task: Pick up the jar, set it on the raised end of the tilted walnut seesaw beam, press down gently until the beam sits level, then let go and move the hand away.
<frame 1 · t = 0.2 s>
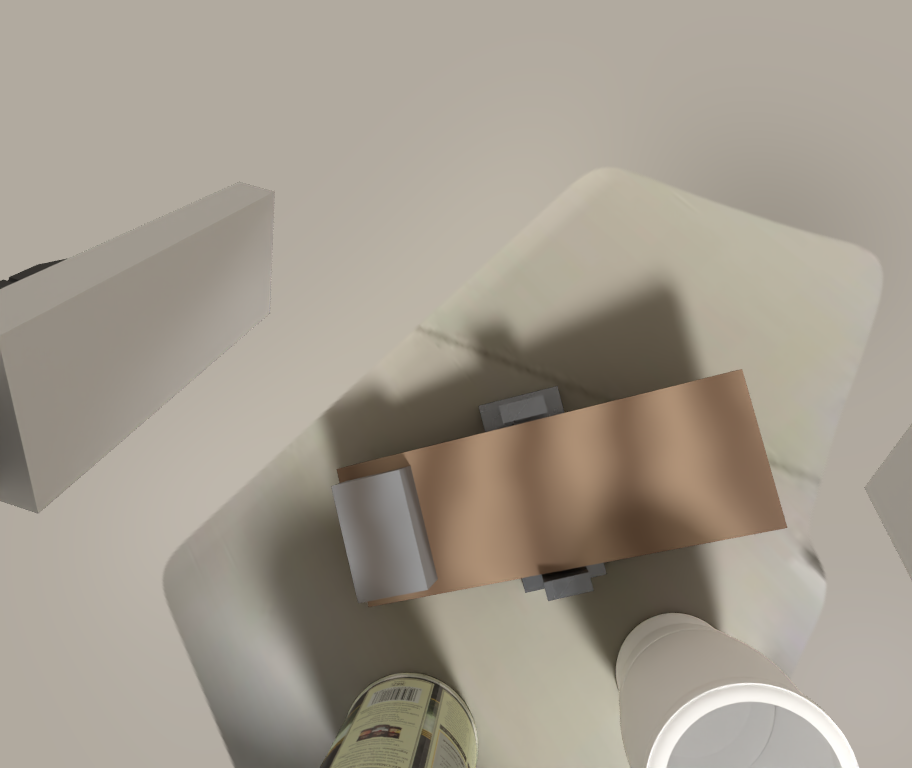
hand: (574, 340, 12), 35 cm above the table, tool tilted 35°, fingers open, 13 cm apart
pivot stand: (540, 487, 47), on the table
coffee can: (411, 740, 47), on the table
beam: (542, 497, 41), point 6 cm above the table, hinge at 9.0°
jar: (673, 669, 46), on the table
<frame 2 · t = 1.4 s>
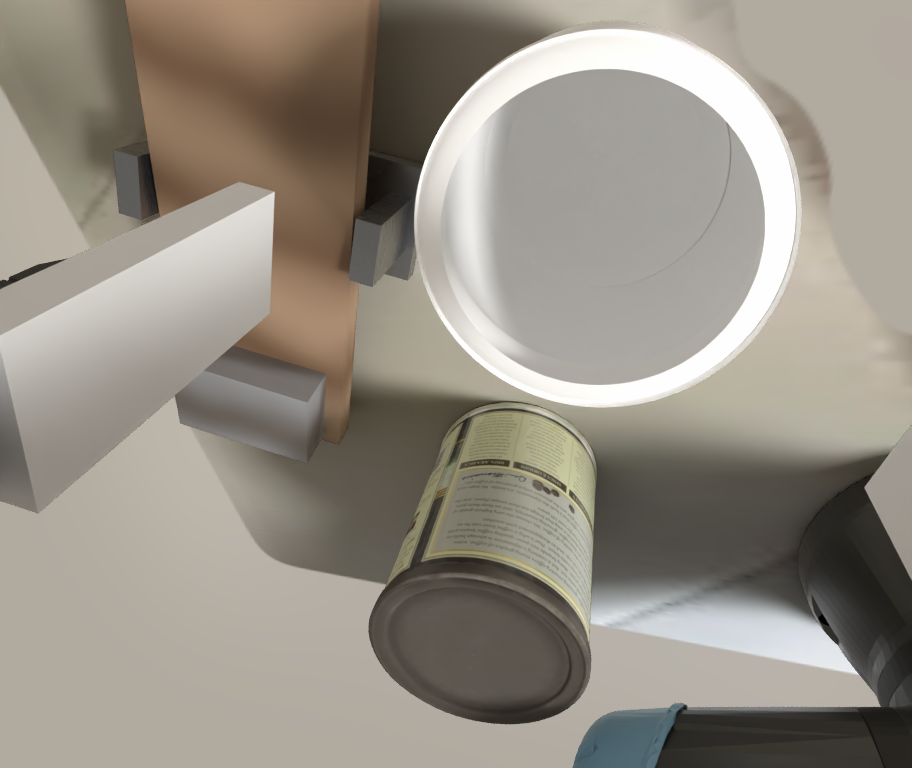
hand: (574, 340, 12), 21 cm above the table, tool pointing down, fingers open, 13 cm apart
pivot stand: (299, 188, 34), on the table
coffee can: (517, 465, 41), on the table
beam: (246, 221, 29), point 6 cm above the table, hinge at 9.0°
jar: (604, 146, 30), on the table
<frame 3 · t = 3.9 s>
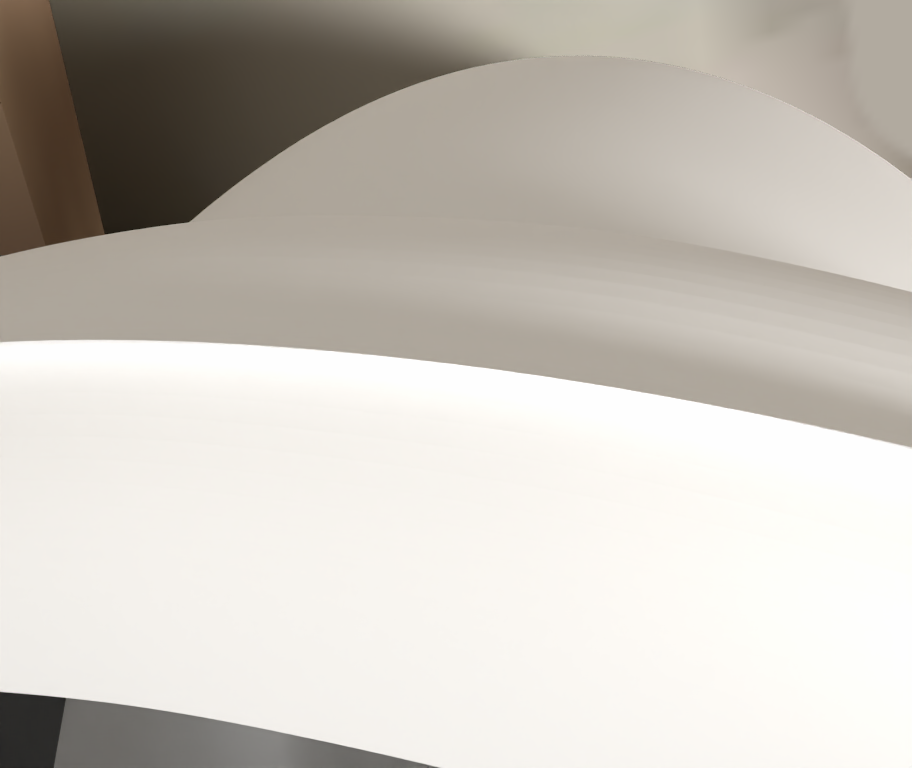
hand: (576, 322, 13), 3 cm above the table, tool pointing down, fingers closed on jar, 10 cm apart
jar: (584, 265, 16), on the table, touching gripper
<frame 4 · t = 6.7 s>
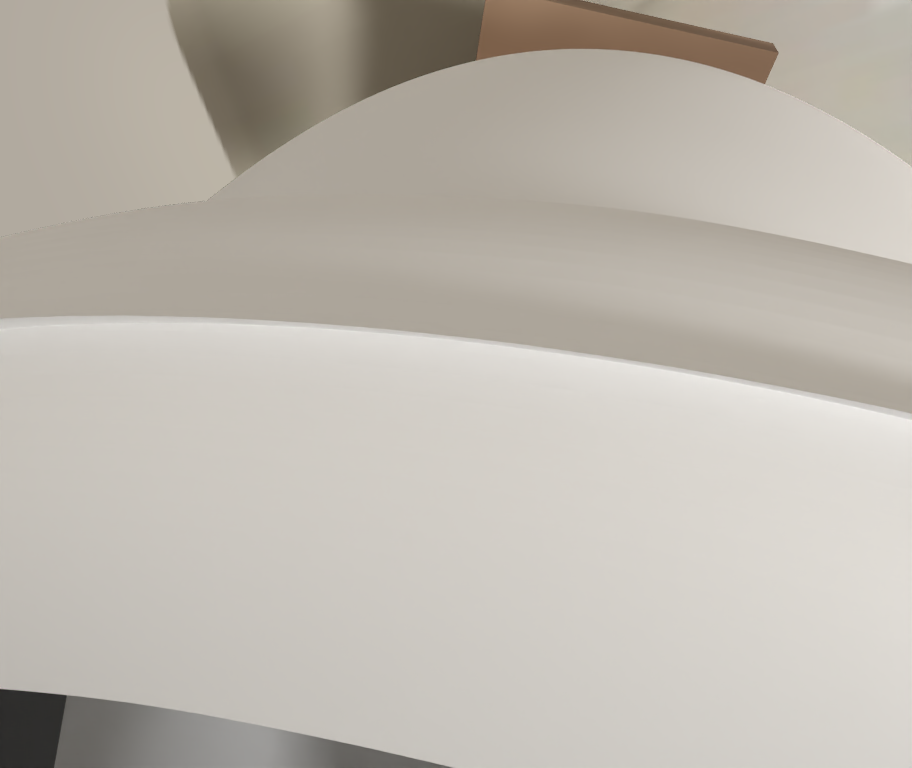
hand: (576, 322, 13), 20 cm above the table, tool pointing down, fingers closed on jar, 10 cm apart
beam: (532, 349, 30), point 6 cm above the table, hinge at 9.0°
jar: (585, 263, 16), point 17 cm above the table, touching gripper
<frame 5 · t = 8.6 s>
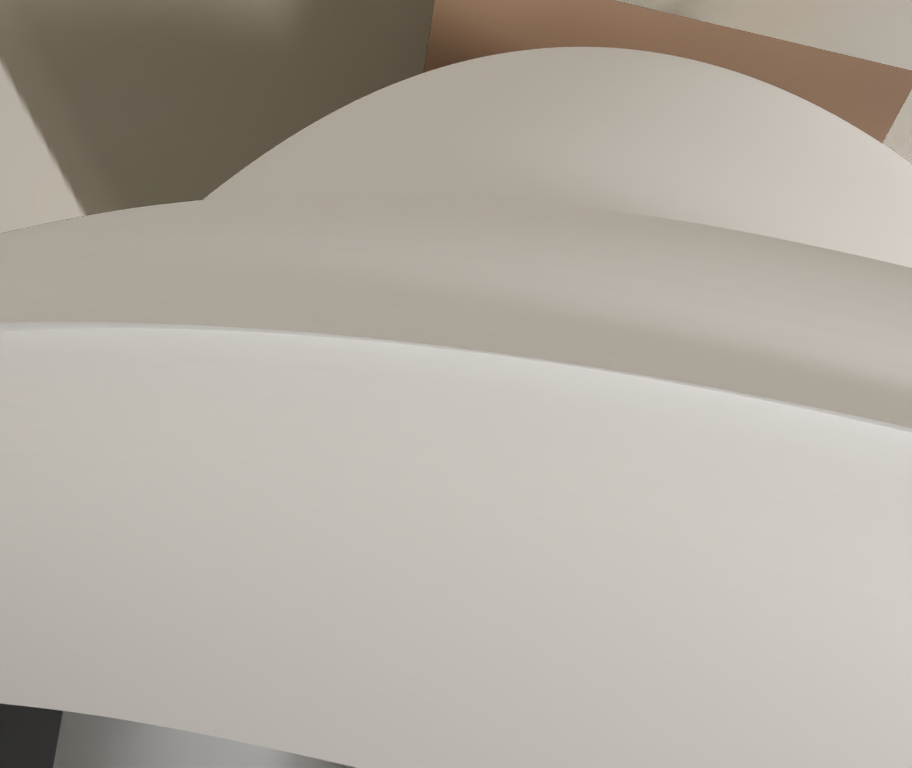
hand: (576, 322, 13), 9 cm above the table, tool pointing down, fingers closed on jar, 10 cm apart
beam: (506, 512, 20), point 6 cm above the table, hinge at 0.5°, touching jar
jar: (586, 262, 16), point 5 cm above the table, touching beam, gripper
when the fingers open (9 cm above the table, at t = 9.7 s): jar stays where it is, resting on beam.
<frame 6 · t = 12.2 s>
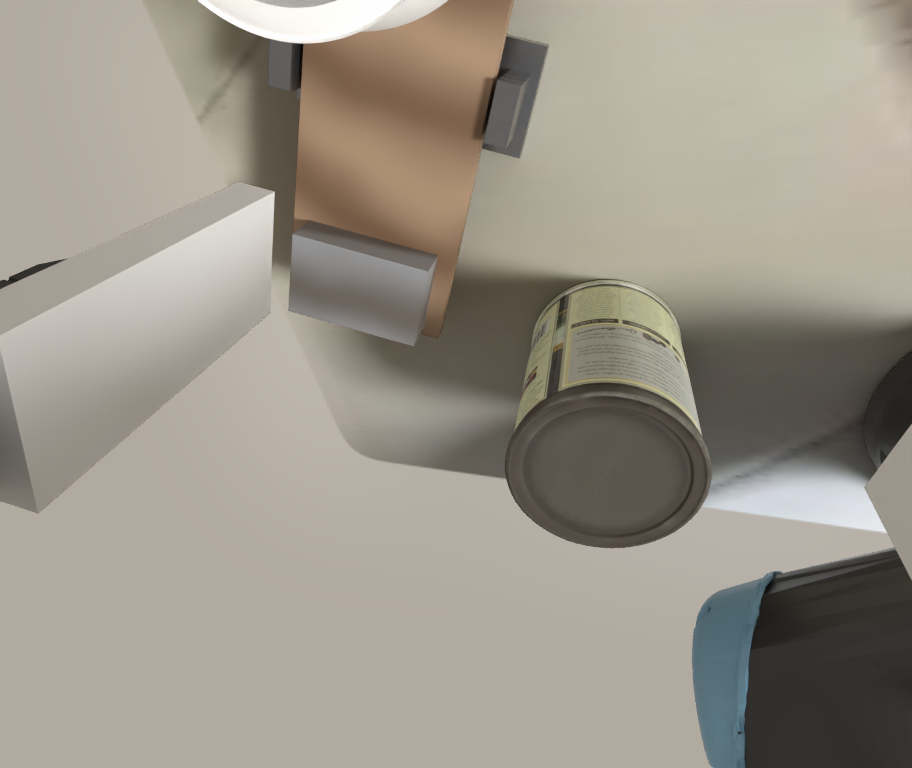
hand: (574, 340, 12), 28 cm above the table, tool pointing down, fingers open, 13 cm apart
pivot stand: (419, 72, 37), on the table
coffee can: (605, 345, 44), on the table
beam: (391, 85, 32), point 6 cm above the table, hinge at 0.3°, touching jar
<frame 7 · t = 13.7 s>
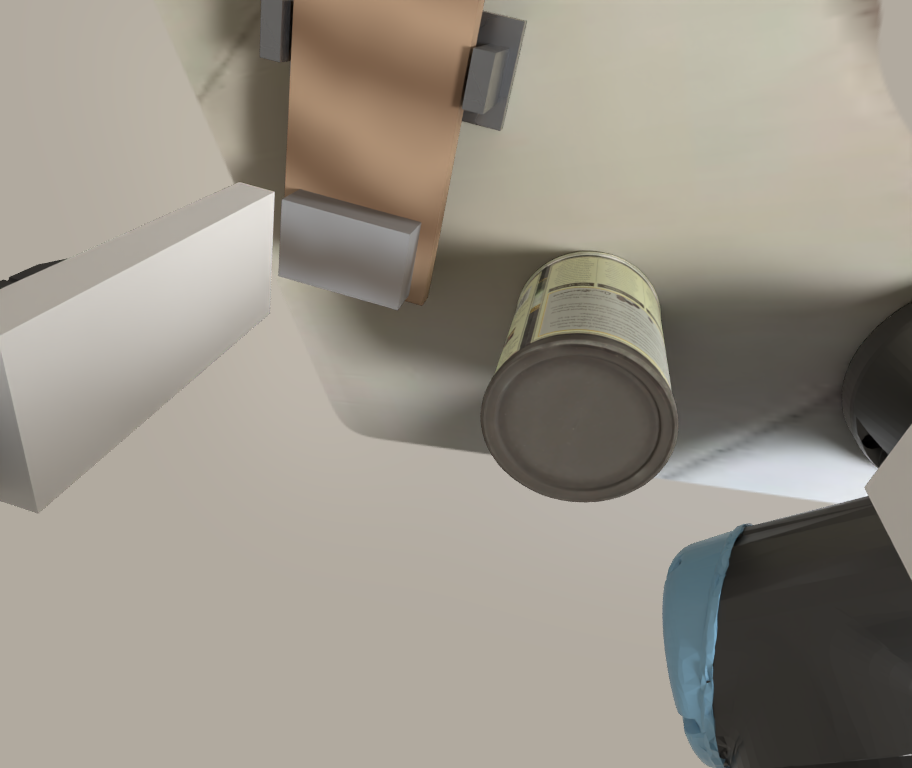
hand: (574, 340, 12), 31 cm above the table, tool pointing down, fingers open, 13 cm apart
pivot stand: (405, 49, 39), on the table
coffee can: (587, 317, 45), on the table
beam: (374, 55, 34), point 6 cm above the table, hinge at 0.3°, touching jar
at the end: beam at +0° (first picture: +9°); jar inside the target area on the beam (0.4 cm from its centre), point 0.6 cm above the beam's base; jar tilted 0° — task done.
